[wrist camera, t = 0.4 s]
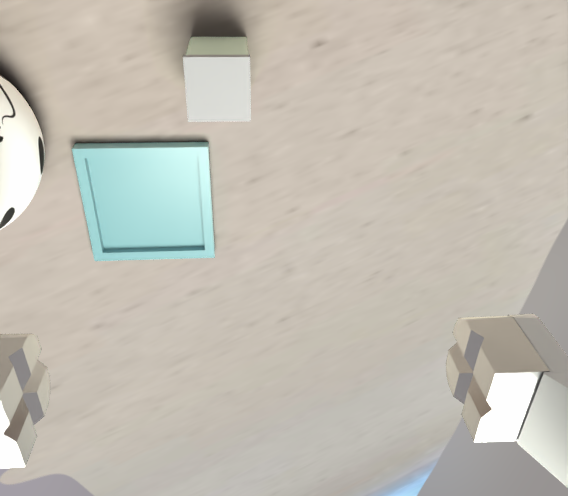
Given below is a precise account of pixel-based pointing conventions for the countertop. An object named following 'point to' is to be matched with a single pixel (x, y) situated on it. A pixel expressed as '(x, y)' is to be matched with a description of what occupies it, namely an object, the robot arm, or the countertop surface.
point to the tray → (147, 199)
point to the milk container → (18, 153)
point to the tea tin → (217, 79)
